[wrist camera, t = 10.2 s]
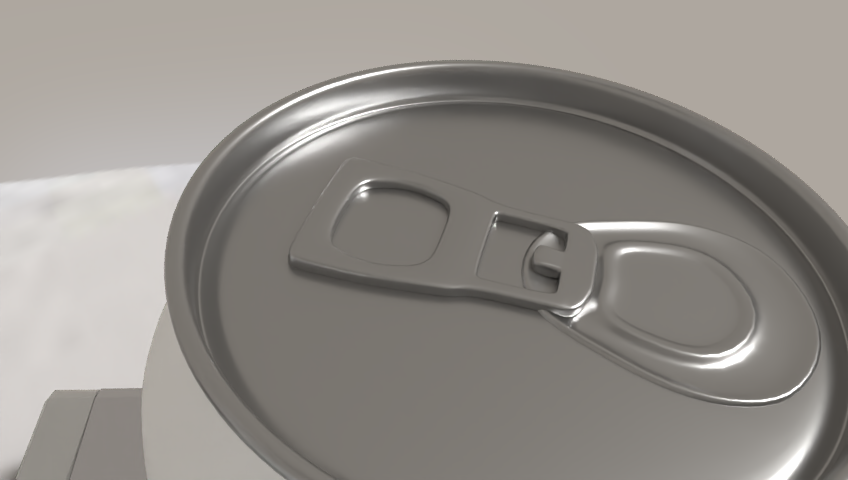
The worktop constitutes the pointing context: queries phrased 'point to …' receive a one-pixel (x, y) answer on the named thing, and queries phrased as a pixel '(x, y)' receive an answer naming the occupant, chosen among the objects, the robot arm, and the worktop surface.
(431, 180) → the can
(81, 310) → the worktop surface
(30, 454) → the robot arm
